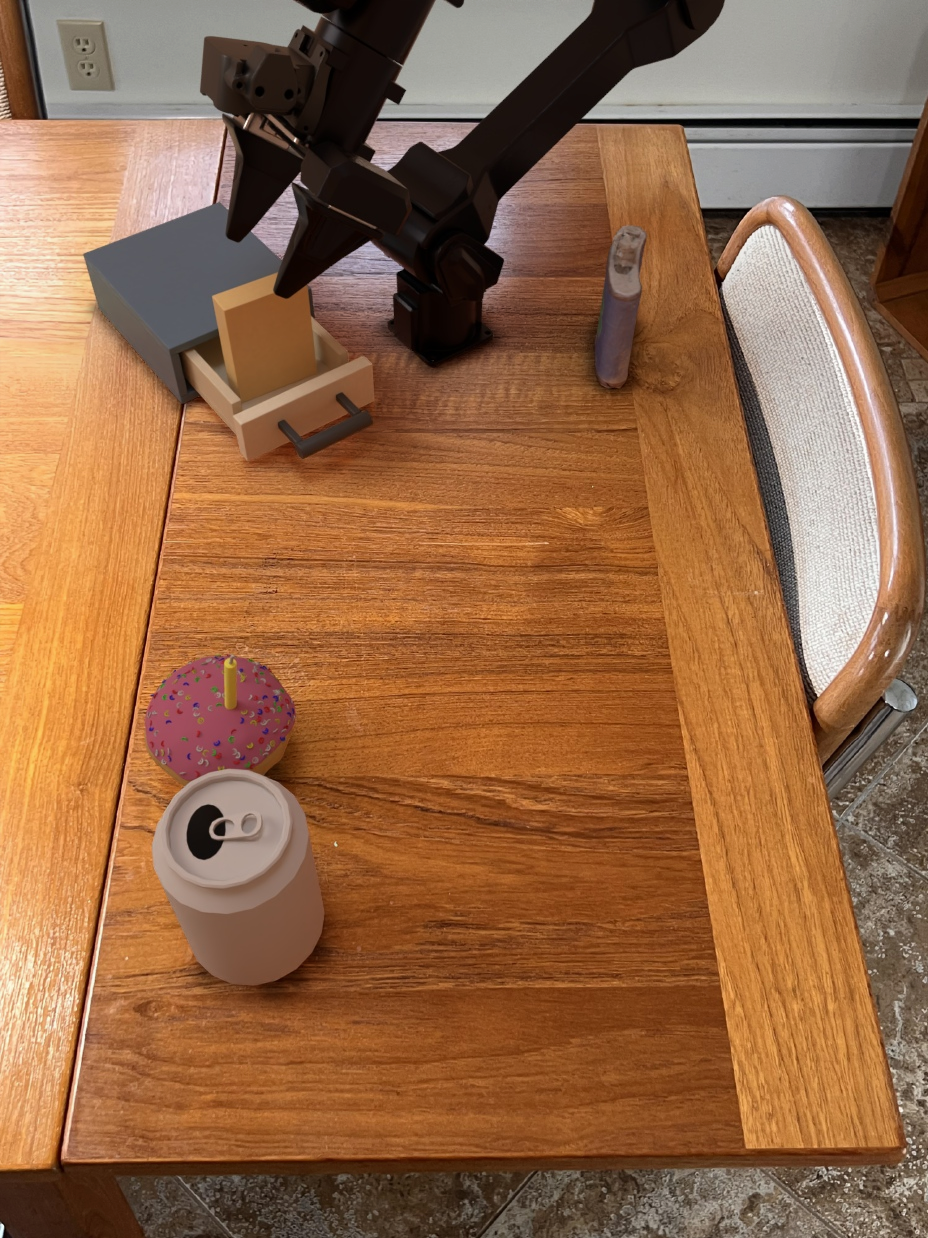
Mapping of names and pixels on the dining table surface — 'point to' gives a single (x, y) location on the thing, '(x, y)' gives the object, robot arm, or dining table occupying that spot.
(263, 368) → the block
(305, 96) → the robot arm
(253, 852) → the can
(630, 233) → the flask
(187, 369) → the drawer
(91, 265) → the cabinet
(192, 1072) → the dining table surface
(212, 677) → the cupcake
